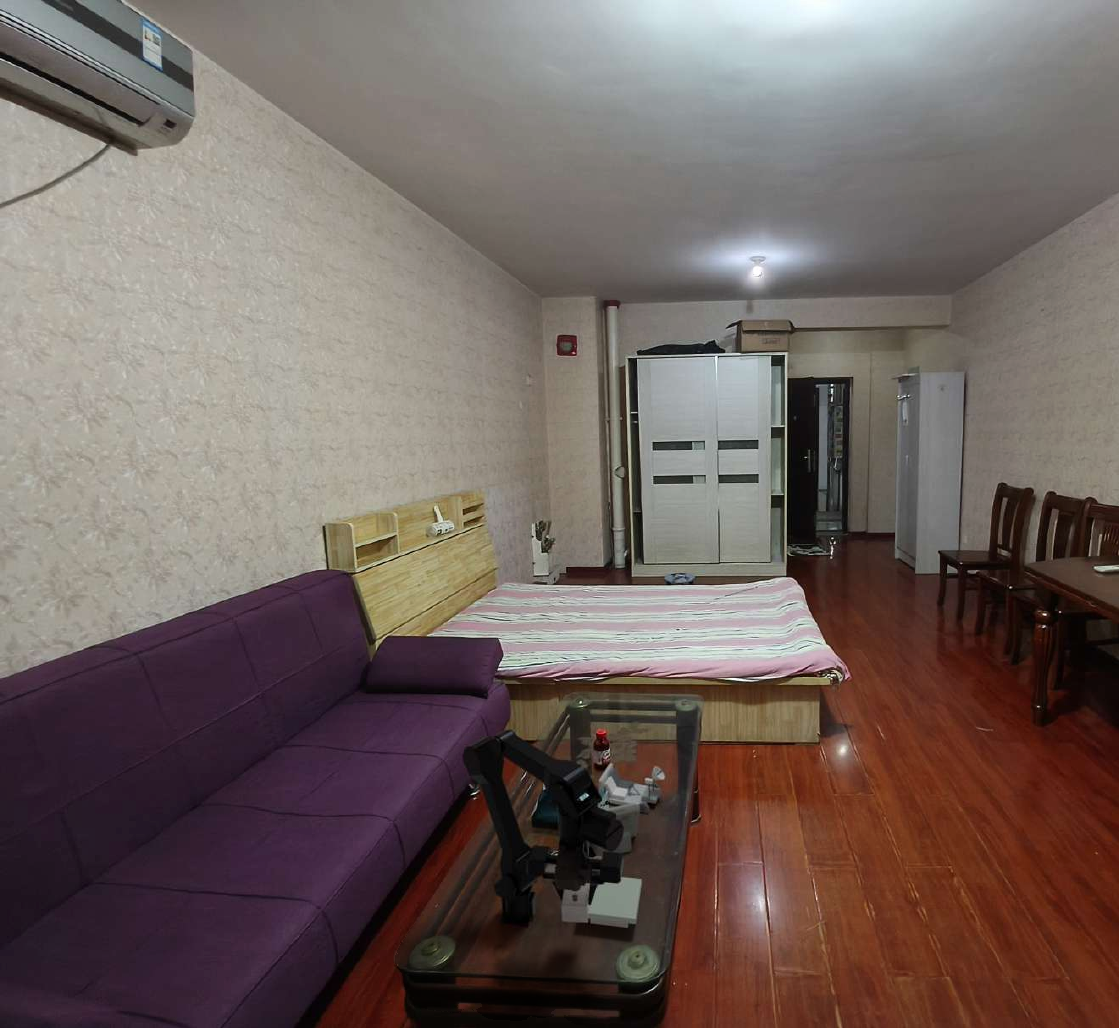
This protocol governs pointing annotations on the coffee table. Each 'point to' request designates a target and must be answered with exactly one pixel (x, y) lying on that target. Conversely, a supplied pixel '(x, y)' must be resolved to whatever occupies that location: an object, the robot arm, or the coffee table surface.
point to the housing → (576, 905)
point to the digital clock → (630, 822)
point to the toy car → (631, 788)
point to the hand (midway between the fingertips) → (576, 902)
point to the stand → (616, 903)
